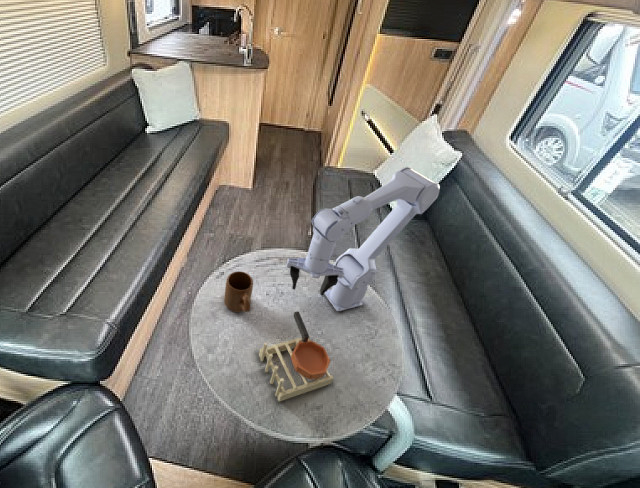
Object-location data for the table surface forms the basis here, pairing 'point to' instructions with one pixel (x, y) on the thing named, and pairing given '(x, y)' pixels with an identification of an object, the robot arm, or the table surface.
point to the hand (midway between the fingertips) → (307, 289)
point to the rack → (295, 390)
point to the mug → (238, 292)
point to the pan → (309, 354)
